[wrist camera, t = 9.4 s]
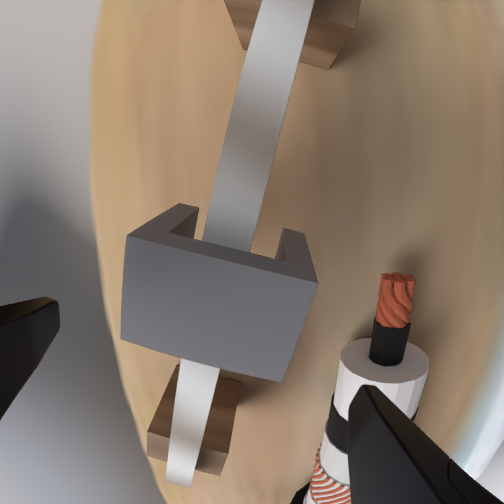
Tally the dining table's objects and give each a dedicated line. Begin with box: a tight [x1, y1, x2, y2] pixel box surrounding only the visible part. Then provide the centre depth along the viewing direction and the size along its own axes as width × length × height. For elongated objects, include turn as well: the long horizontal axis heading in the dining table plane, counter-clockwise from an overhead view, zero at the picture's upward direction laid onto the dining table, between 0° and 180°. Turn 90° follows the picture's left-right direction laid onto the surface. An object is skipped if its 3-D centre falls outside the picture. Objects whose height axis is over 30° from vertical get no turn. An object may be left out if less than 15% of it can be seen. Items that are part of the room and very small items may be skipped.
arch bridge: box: [147, 0, 361, 488], centre depth 15 cm, size 28×5×9 cm, turn 166°
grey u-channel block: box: [121, 203, 318, 382], centre depth 13 cm, size 4×6×6 cm, turn 77°
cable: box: [290, 272, 429, 504], centre depth 21 cm, size 10×34×10 cm, turn 0°
